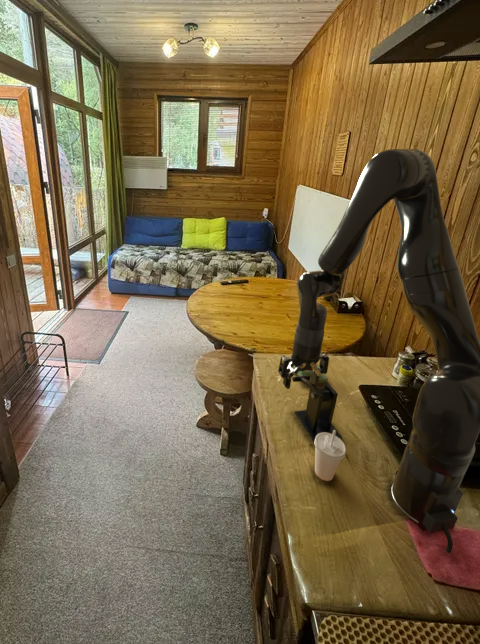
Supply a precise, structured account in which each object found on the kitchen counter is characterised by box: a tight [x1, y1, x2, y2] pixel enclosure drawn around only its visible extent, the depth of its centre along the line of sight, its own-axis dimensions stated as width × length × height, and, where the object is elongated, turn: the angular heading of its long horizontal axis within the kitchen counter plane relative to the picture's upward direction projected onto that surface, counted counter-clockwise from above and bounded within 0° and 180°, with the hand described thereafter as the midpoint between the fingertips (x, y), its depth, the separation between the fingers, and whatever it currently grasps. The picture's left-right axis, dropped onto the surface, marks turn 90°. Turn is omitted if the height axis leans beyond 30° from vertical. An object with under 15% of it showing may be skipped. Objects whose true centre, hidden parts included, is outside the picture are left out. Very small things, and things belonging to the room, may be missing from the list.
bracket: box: [294, 382, 342, 443], centre depth 81 cm, size 10×8×13 cm
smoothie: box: [313, 429, 347, 482], centre depth 68 cm, size 6×6×14 cm
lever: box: [291, 375, 330, 402], centre depth 85 cm, size 13×5×2 cm, turn 10°
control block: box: [293, 363, 329, 384], centre depth 103 cm, size 9×8×4 cm
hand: (300, 385), depth 91 cm, fingers open, 8 cm apart
